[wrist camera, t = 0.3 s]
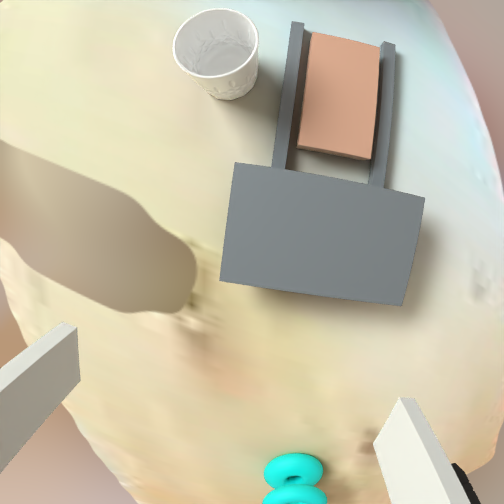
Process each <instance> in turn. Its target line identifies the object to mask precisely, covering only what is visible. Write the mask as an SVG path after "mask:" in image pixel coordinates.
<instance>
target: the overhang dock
mask: <svg viewBox="0 0 504 504" xmlns="http://www.w3.org/2000/svg"><path fill="white" fill-rule="evenodd" d="M303 30H304V23H300V22H293V21H292V24H291V31H290V38H289V46H288V53H287V60H286V67H285V74H284V82H283V89H282V96H281V103H280V110H279V117H278V124H277V131H276V138H275V145H274V152H273V159H272V166H271V167H266V166H259V165H252V164H245V163H237V162H235V165H234V172H233V179H232V186H231V193H230V201H229V208H228V216H227V223H226V231H225V239H224V247H223V255H222V263H221V271H220V280H219V281H224V282H230V283H236V284H243V285H249V286H255V287H262V288H269V289H275V290H282V291H289V292H296V293H303V294H310V295H317V296H325V297H332V298H340V299H348V300H355V301H363V302H371V303H380V304H388V305H396V306H402V302H403V299H404V295H405V291H406V288H407V284H408V280H409V276H410V272H411V268H412V263H413V259H414V255H415V250H416V245H417V240H418V235H419V230H420V225H421V220H422V214H423V208H424V202H425V198H424V197H420V196H416V195H412V194H408V193H403V192H399V191H395V190H391V189H386V188H384V181H385V174H386V167H387V159H388V150H389V141H390V132H391V121H392V109H393V94H394V75H395V44H391V43H388V42H385V41H384V42H383V43H382V45H381V50H380V72H379V88H378V102H377V113H376V124H375V133H374V142H373V151H372V159H371V166H370V174H369V181H368V184H363V183H358V182H353V181H348V180H343V179H338V178H333V177H327V176H322V175H316V174H311V173H305V172H299V171H293V170H286V169H285V165H286V158H287V151H288V144H289V137H290V130H291V123H292V115H293V108H294V101H295V93H296V86H297V78H298V70H299V62H300V55H301V47H302V38H303Z"/></svg>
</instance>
